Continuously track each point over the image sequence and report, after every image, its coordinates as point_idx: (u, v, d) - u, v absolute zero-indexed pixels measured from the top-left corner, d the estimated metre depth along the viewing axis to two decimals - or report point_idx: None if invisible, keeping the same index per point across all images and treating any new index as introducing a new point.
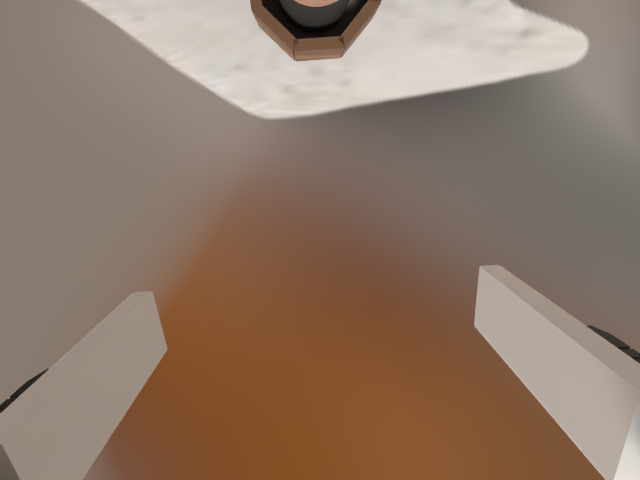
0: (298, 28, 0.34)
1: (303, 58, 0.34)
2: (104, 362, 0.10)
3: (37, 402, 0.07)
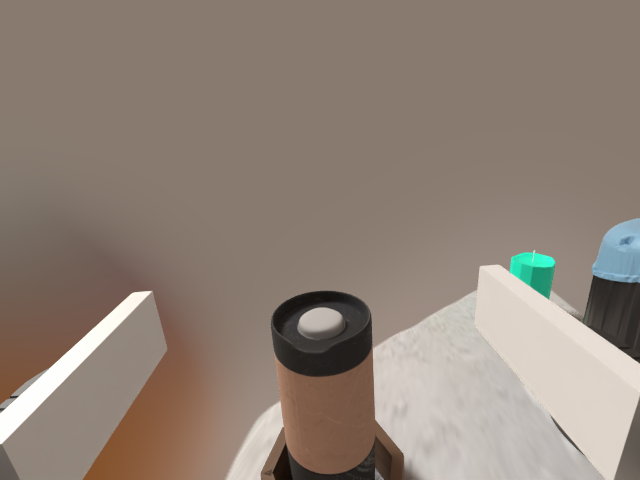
0: None
1: None
2: (104, 362, 0.10)
3: (37, 402, 0.07)
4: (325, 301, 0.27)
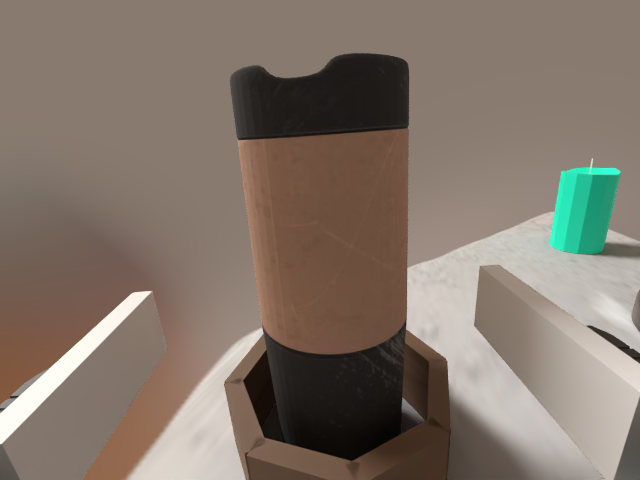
0: None
1: None
2: (104, 362, 0.10)
3: (37, 402, 0.07)
4: None
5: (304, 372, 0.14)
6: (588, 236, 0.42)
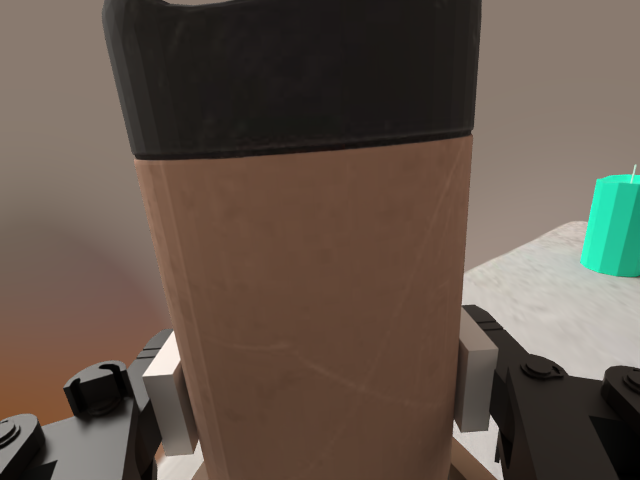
0: None
1: None
2: None
3: None
4: None
5: None
6: (631, 256, 0.36)
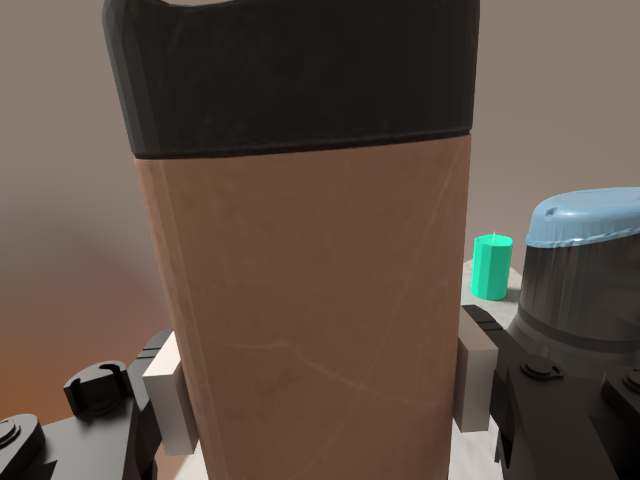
0: None
1: None
2: None
3: None
4: None
5: None
6: (492, 287, 0.57)
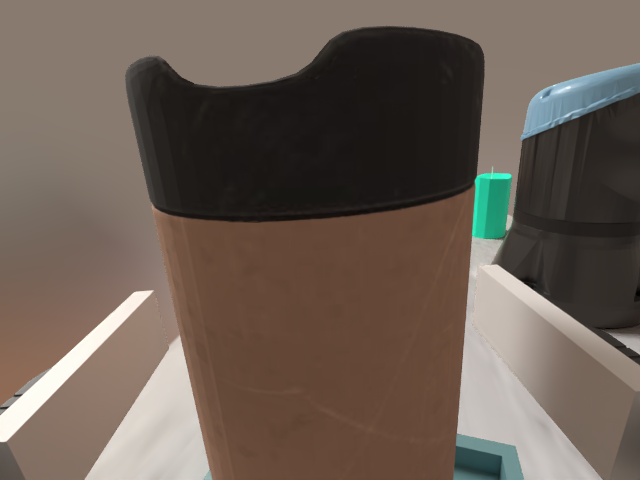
0: None
1: None
2: (107, 360, 0.10)
3: (41, 401, 0.07)
4: None
5: None
6: (490, 225, 0.56)
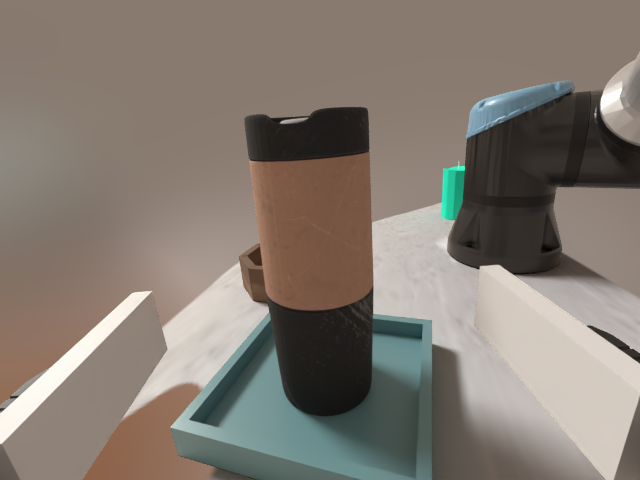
0: None
1: None
2: (104, 362, 0.10)
3: (37, 402, 0.07)
4: None
5: (297, 325, 0.20)
6: (457, 208, 0.68)
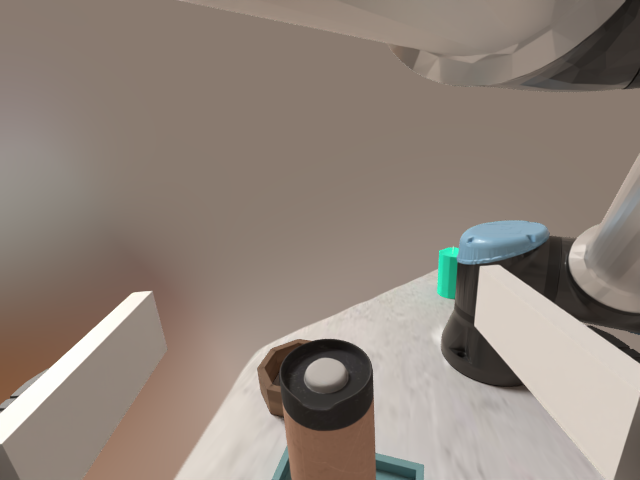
0: None
1: None
2: (104, 362, 0.10)
3: (37, 402, 0.07)
4: (330, 349, 0.29)
5: None
6: (452, 289, 0.74)
